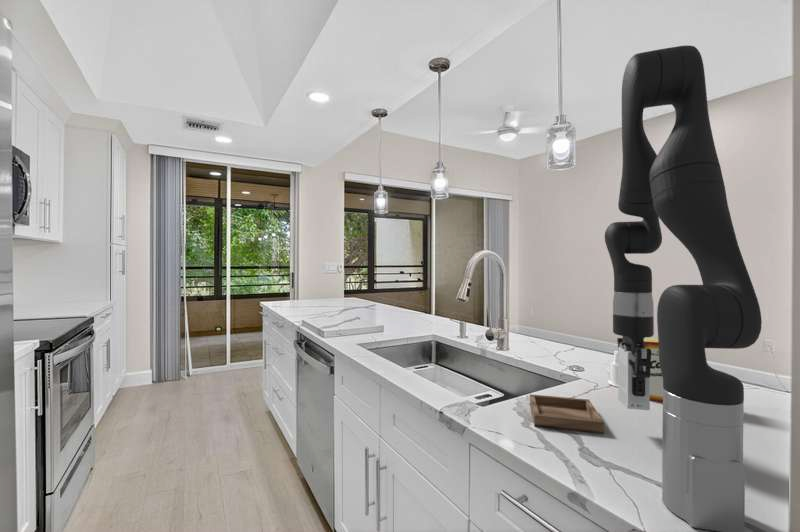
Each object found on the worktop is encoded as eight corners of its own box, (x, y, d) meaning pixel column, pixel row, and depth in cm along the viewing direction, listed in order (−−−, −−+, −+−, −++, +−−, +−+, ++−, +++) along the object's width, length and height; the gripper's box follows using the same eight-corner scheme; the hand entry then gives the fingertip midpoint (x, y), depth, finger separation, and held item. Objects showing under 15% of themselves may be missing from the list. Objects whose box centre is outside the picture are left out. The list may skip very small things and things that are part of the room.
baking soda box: (682, 398, 102) (682, 339, 102) (685, 406, 96) (685, 344, 96) (641, 392, 107) (641, 336, 107) (641, 398, 101) (641, 339, 101)
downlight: (601, 383, 114) (603, 351, 114) (612, 379, 118) (614, 348, 118) (630, 391, 108) (632, 357, 107) (640, 387, 112) (642, 354, 112)
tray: (603, 434, 80) (604, 422, 80) (534, 426, 84) (534, 415, 84) (588, 409, 94) (589, 399, 93) (529, 403, 97) (529, 394, 97)
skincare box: (650, 411, 77) (650, 353, 78) (627, 409, 78) (627, 351, 78) (638, 401, 83) (638, 347, 84) (617, 399, 84) (617, 346, 84)
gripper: (666, 317, 73) (667, 403, 73) (640, 310, 87) (641, 383, 87) (623, 316, 75) (623, 400, 75) (604, 309, 89) (605, 380, 89)
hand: (633, 390), depth 81 cm, fingers closed on skincare box, 6 cm apart
